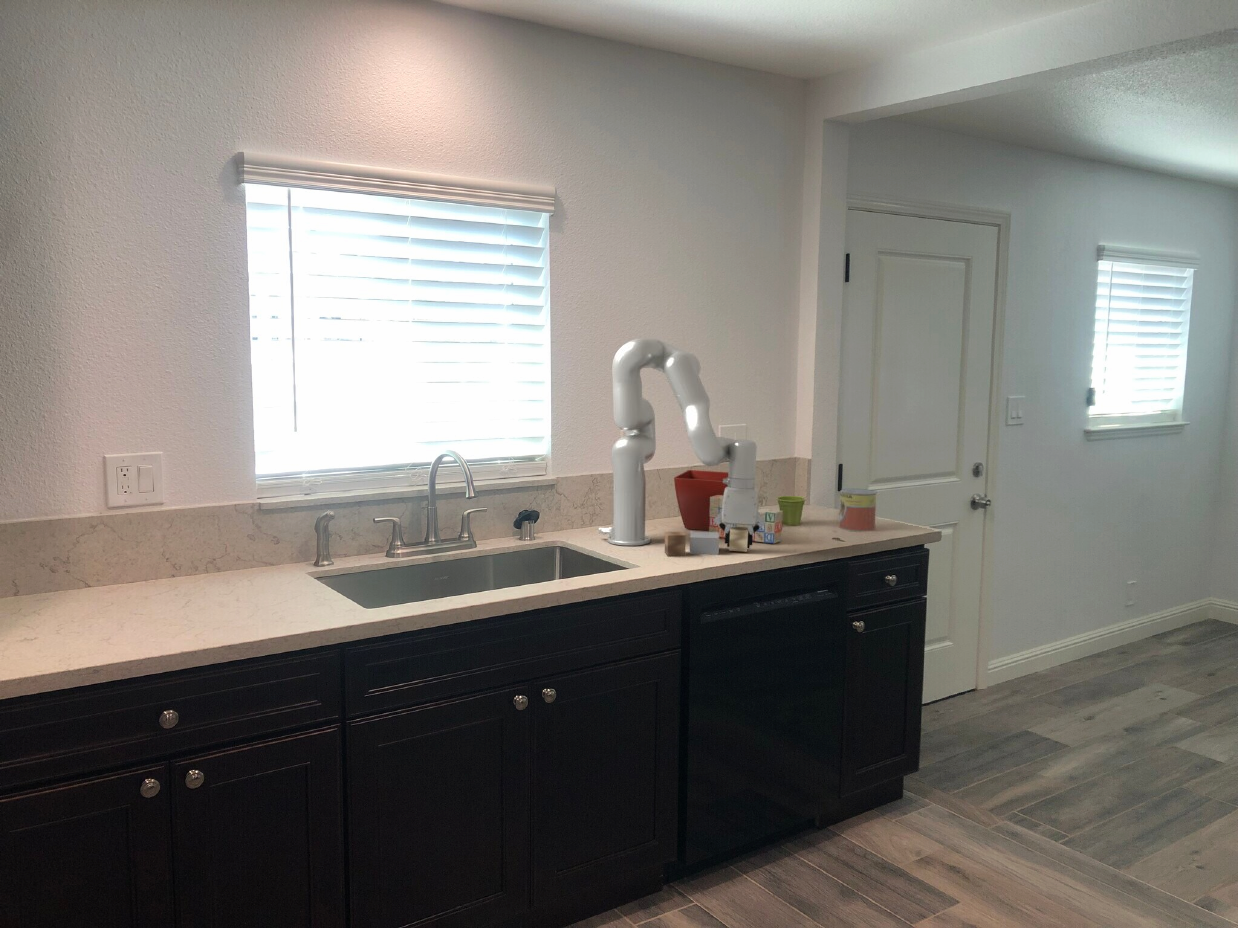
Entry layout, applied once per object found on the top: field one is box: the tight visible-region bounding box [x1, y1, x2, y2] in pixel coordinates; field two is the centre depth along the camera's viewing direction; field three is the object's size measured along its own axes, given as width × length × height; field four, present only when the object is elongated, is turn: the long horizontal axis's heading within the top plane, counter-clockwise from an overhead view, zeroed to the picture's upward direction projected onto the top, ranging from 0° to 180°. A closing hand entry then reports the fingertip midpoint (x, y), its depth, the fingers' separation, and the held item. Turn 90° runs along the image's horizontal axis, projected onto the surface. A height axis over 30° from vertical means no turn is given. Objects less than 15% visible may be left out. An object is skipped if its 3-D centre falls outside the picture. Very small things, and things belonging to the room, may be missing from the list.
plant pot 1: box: [673, 469, 729, 532], centre depth 300 cm, size 19×19×17 cm
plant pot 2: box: [776, 495, 807, 527], centre depth 307 cm, size 9×9×9 cm
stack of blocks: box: [708, 495, 783, 544], centre depth 283 cm, size 21×6×12 cm, turn 58°
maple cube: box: [728, 526, 748, 553], centre depth 266 cm, size 5×5×6 cm
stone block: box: [689, 531, 720, 556], centre depth 266 cm, size 8×8×5 cm
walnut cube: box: [664, 531, 687, 558], centre depth 262 cm, size 5×5×6 cm
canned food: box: [838, 488, 877, 533], centre depth 301 cm, size 11×11×12 cm
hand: (738, 546), depth 266 cm, fingers closed on maple cube, 5 cm apart
